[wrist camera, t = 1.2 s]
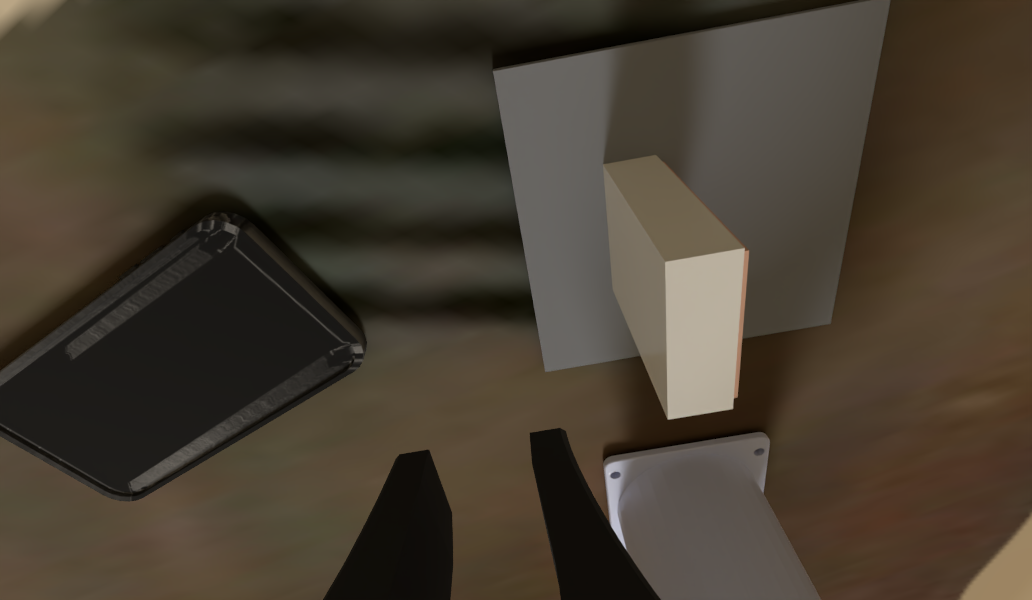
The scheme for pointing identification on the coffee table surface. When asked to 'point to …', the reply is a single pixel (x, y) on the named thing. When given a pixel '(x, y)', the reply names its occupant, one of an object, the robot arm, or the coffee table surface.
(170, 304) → the phone
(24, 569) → the coffee table surface
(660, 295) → the tile
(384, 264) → the coffee table surface
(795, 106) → the mat
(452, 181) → the coffee table surface
